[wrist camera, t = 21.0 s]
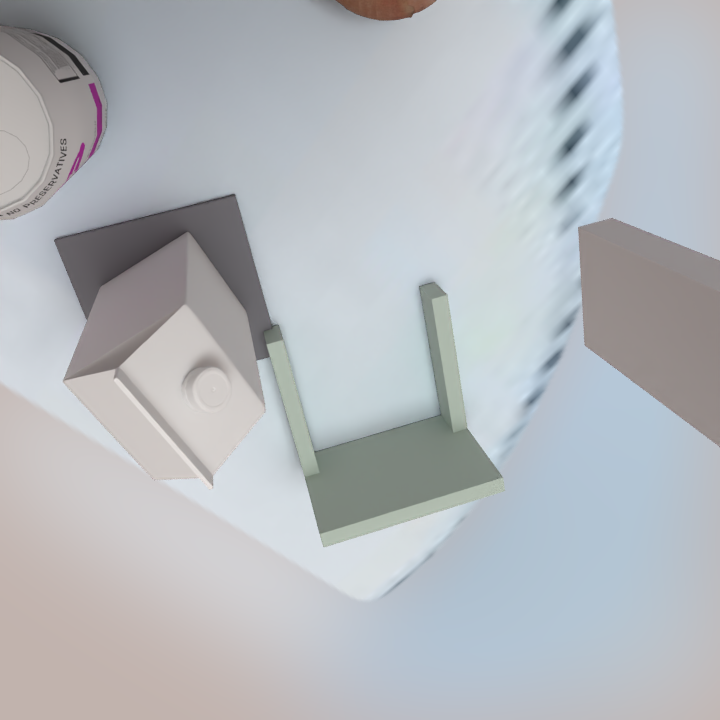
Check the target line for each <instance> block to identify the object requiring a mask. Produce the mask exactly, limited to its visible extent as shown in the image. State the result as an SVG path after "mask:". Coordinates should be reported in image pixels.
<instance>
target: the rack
mask: <svg viewBox="0 0 720 720" xmlns="http://www.w3.org/2000/svg"><path fill="white" fill-rule="evenodd" d="M419 287H420V293H421V299H422V305H423V311H424V317H425V323H426V329H427V334H428V340H429V346H430V352H431V358H432V364H433V370H434V376H435V382H436V388H437V394H438V400H439V406H440V411H441V415H439V416H436V417H432V418H429V419H426V420H422V421H419V422H415V423H412V424H409V425H405V426H402V427H398V428H395V429H392V430H388V431H385V432H382V433H378V434H375V435H371V436H368V437H365V438H361V439H358V440H354V441H351V442H348V443H344V444H341V445H337V446H334V447H331V448H327V449H324V450H321V451H317V452H314V450H313V446H312V443H311V439H310V435H309V432H308V428H307V425H306V421H305V417H304V414H303V410H302V406H301V403H300V399H299V395H298V392H297V388H296V385H295V381H294V377H293V374H292V370H291V366H290V363H289V359H288V356H287V352H286V348H285V345H284V341H283V338H282V334H281V331H280V328H279V325H275V326H272V329H270V330H267V331H263V332H264V336H265V340H266V344H267V348H268V351H269V355H270V358H271V362H272V365H273V369H274V372H275V376H276V379H277V382H278V386H279V389H280V393H281V396H282V400H283V403H284V407H285V410H286V414H287V417H288V421H289V424H290V428H291V431H292V434H293V438H294V441H295V445H296V448H297V452H298V455H299V459H300V462H301V466H302V469H303V473H304V476H305V480H306V484H307V487H308V491H309V495H310V499H311V503H312V507H313V510H314V514H315V518H316V522H317V526H318V530H319V533H320V537H321V540H322V544H323V547H327V546H330V545H333V544H336V543H340V542H343V541H346V540H349V539H352V538H356V537H359V536H362V535H365V534H368V533H372V532H375V531H378V530H381V529H384V528H388V527H391V526H394V525H397V524H401V523H404V522H407V521H410V520H413V519H417V518H420V517H423V516H426V515H429V514H433V513H436V512H439V511H442V510H445V509H449V508H452V507H455V506H458V505H461V504H465V503H468V502H471V501H474V500H477V499H481V498H484V497H487V496H490V495H494V494H497V493H500V492H503V491H505V489H504V481H503V477H502V475H501V474H500V473H499V471H498V470H497V469H496V467H495V466H494V464H493V463H492V462H491V460H490V459H489V458H488V456H487V455H486V453H485V452H484V451H483V449H482V448H481V447H480V445H479V444H478V442H477V441H476V440H475V438H474V437H473V435H472V434H471V433H470V431H469V430H468V429H467V422H466V415H465V409H464V402H463V395H462V389H461V382H460V375H459V369H458V362H457V355H456V349H455V342H454V335H453V329H452V322H451V315H450V309H449V302H448V295H447V294H446V293H445V292H444V291H443V290H442V289H441V288H440V287H439V286H438V285H437V284H436V283H435V282H434V283H430V284H426V285H423V286H419Z"/></svg>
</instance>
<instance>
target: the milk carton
mask: <svg viewBox="0 0 720 720" xmlns="http://www.w3.org/2000/svg"><path fill="white" fill-rule="evenodd" d="M63 383H64V384H65V385H66V386H67V387H68V388H69V390H70V391H71V392H72V393H73V394H74V395H75V396H76V397H77V398H78V399H79V400H80V401H81V403H82V404H83V405H84V406H85V407H86V408H87V409H88V410H89V411H90V412H91V413H92V414H93V415H94V417H95V418H96V419H97V420H98V421H99V422H100V423H101V424H102V425H103V426H104V427H105V428H106V430H107V431H108V432H109V433H110V434H111V435H112V436H113V437H114V438H115V439H116V440H117V441H118V442H119V444H120V445H121V446H122V447H123V448H124V449H125V450H126V451H127V452H128V453H129V454H130V455H131V456H132V458H133V459H134V460H135V461H136V462H137V463H138V464H139V465H140V466H141V467H142V468H143V469H144V470H145V471H146V473H147V474H148V475H149V476H150V477H151V478H152V479H154V480H171V479H191V478H200V479H201V481H202V482H203V483H204V484H205V485H206V486H207V487H208V489H209V490H211V489H212V488H213V475H214V474H215V473H216V472H217V470H218V469H219V468H220V467H221V466H222V464H223V463H224V462H225V461H226V459H227V458H228V457H229V456H230V455H231V453H232V452H233V451H234V450H235V449H236V447H237V446H238V445H239V444H240V442H241V441H242V440H243V439H244V438H245V436H246V435H247V434H248V433H249V431H250V430H251V429H252V428H253V427H254V425H255V424H256V423H257V422H258V421H259V419H260V418H261V417H262V416H263V414H264V413H265V412H266V409H265V401H264V396H263V391H262V386H261V381H260V376H259V371H258V366H257V361H256V356H255V352H254V347H253V342H252V337H251V332H250V327H249V322H248V317H247V313H246V311H245V309H244V308H243V306H242V305H241V303H240V302H239V300H238V299H237V298H236V296H235V295H234V293H233V292H232V291H231V289H230V288H229V286H228V285H227V284H226V282H225V281H224V279H223V278H222V277H221V275H220V274H219V272H218V271H217V270H216V268H215V267H214V265H213V264H212V263H211V261H210V260H209V258H208V257H207V256H206V254H205V253H204V251H203V250H202V249H201V247H200V246H199V244H198V243H197V242H196V240H195V239H194V238H193V236H192V235H191V234H190V233H189V232H186V233H184V234H183V235H181V236H180V237H178V238H177V239H175V240H173V241H172V242H170V243H169V244H167V245H165V246H164V247H162V248H161V249H159V250H158V251H156V252H154V253H153V254H151V255H150V256H148V257H147V258H145V259H143V260H142V261H140V262H139V263H137V264H135V265H134V266H132V267H131V268H129V269H128V270H126V271H124V272H123V273H121V274H120V275H118V276H117V277H115V278H113V279H112V280H110V281H109V282H107V283H106V284H104V285H102V286H101V287H100V289H99V292H98V294H97V297H96V299H95V302H94V304H93V307H92V309H91V312H90V314H89V317H88V319H87V322H86V324H85V327H84V329H83V332H82V335H81V337H80V340H79V342H78V345H77V347H76V350H75V352H74V355H73V357H72V360H71V362H70V365H69V367H68V370H67V372H66V375H65V377H64V380H63Z"/></svg>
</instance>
